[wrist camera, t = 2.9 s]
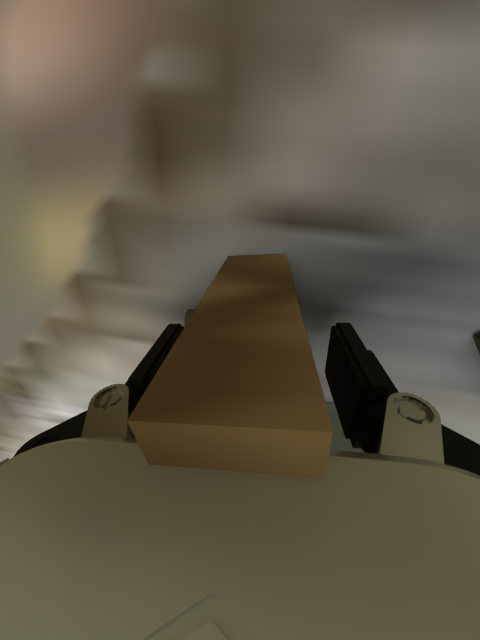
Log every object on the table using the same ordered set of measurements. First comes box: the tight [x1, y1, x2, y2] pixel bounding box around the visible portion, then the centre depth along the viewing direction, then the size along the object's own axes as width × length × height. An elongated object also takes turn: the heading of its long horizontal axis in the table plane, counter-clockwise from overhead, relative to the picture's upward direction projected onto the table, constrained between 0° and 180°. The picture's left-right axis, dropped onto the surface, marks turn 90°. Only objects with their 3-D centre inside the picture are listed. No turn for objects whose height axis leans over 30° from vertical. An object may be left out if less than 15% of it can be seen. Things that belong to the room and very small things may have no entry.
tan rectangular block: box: [127, 254, 333, 479], centre depth 10 cm, size 4×8×10 cm, turn 4°
